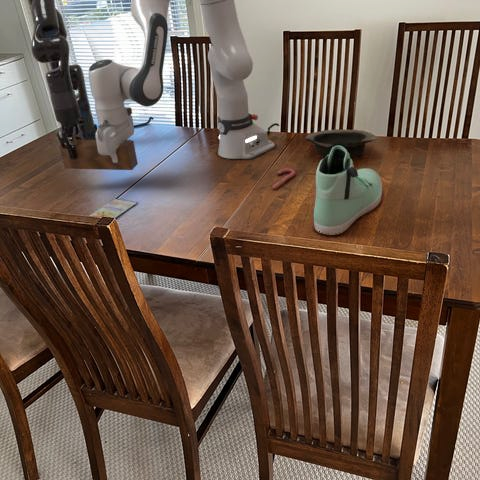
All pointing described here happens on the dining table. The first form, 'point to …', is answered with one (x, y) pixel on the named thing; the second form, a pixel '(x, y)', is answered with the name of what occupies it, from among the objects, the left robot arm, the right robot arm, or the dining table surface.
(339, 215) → the sneaker
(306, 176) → the dining table surface
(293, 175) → the candy cane
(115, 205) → the baking ingredient package
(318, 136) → the stone bowl
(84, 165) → the bar
